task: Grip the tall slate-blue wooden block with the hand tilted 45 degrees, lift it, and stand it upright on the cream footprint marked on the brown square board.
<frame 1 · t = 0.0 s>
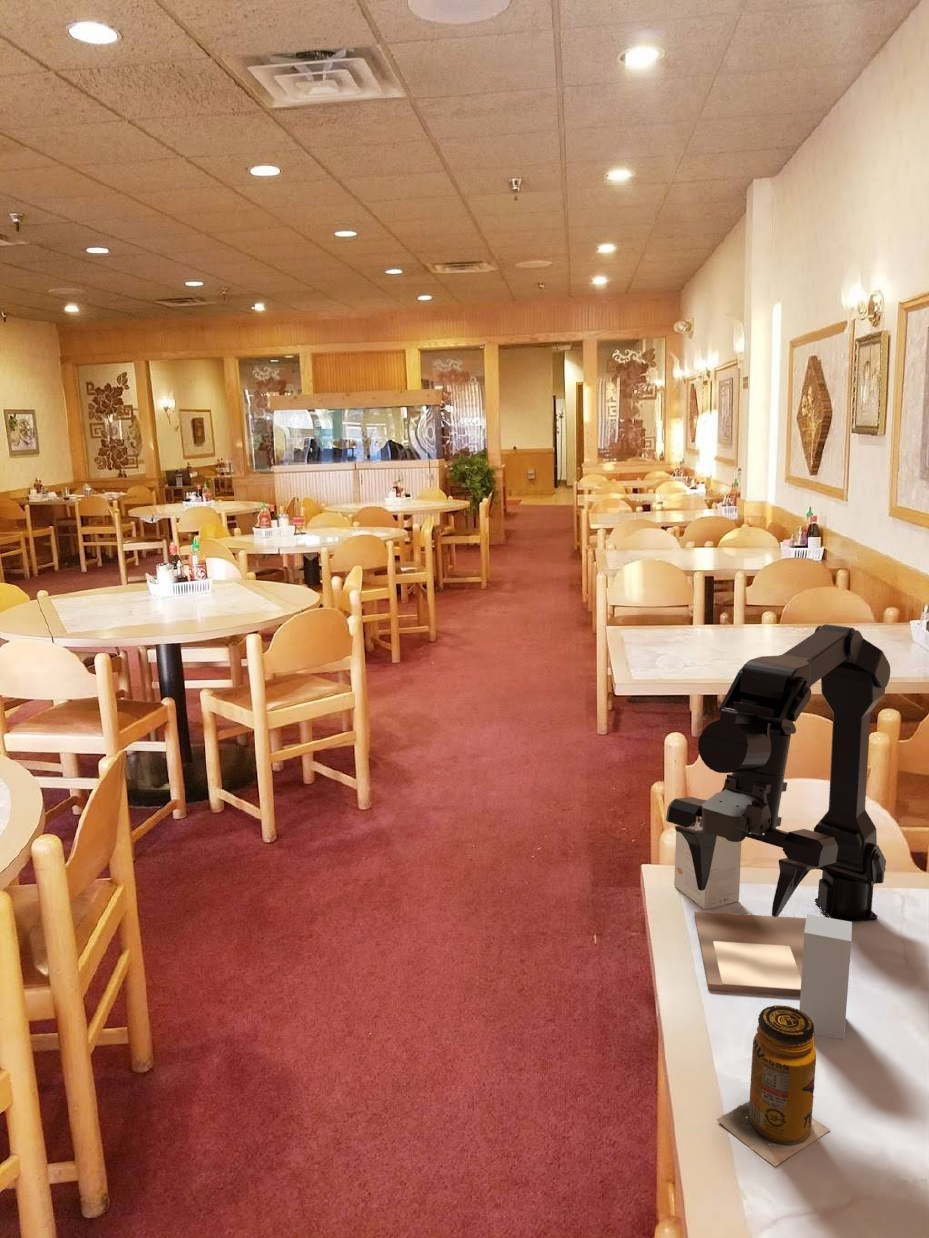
hand: (737, 902, 108), 15 cm above the table, tool pointing down, fingers open, 9 cm apart
condiment: (772, 1128, 95), on the table
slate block: (821, 1023, 111), on the table
small box: (705, 895, 142), on the table
brown square board: (763, 958, 124), on the table
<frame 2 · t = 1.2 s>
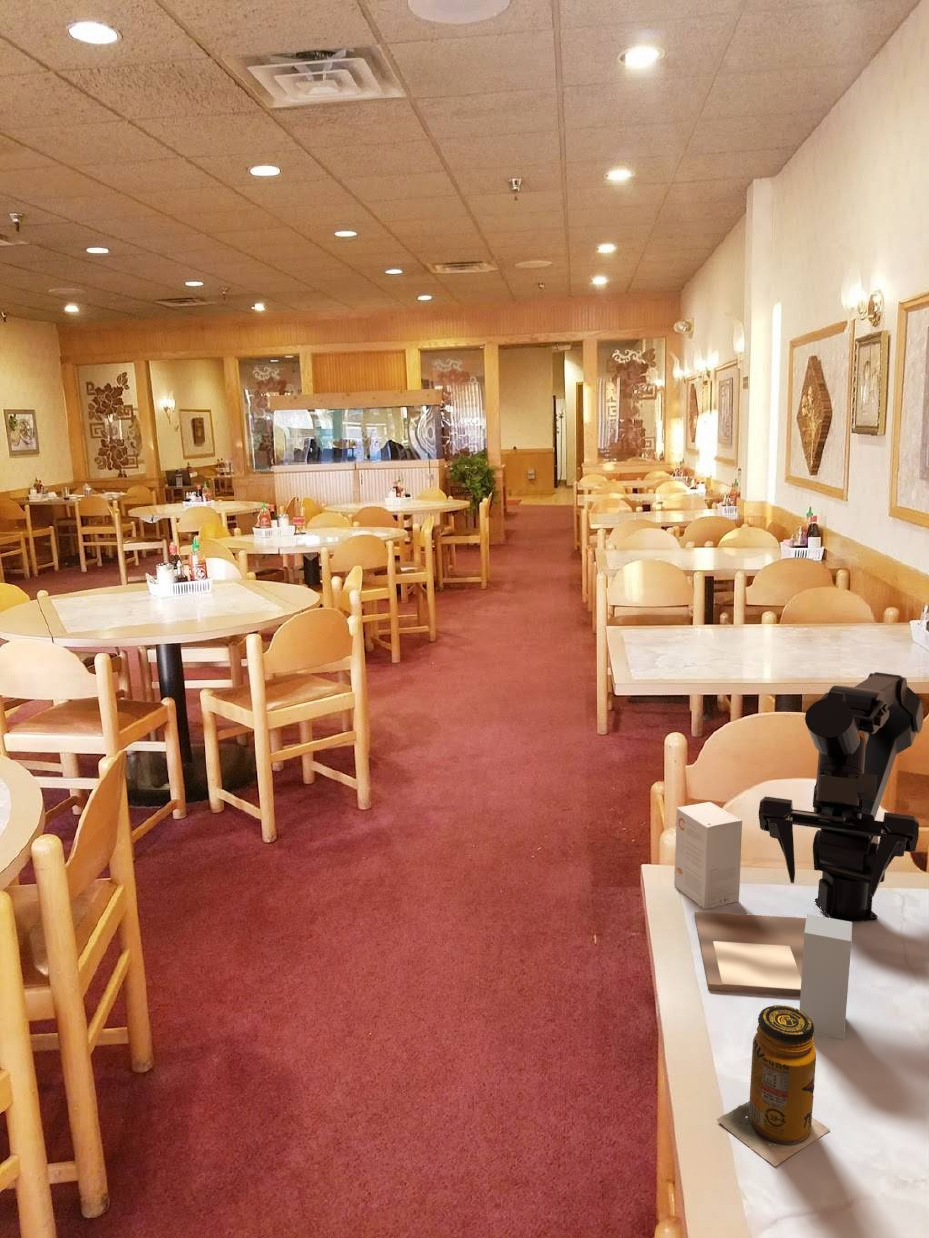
hand: (831, 888, 115), 13 cm above the table, tool tilted 45°, fingers open, 9 cm apart
nothing on the table moved.
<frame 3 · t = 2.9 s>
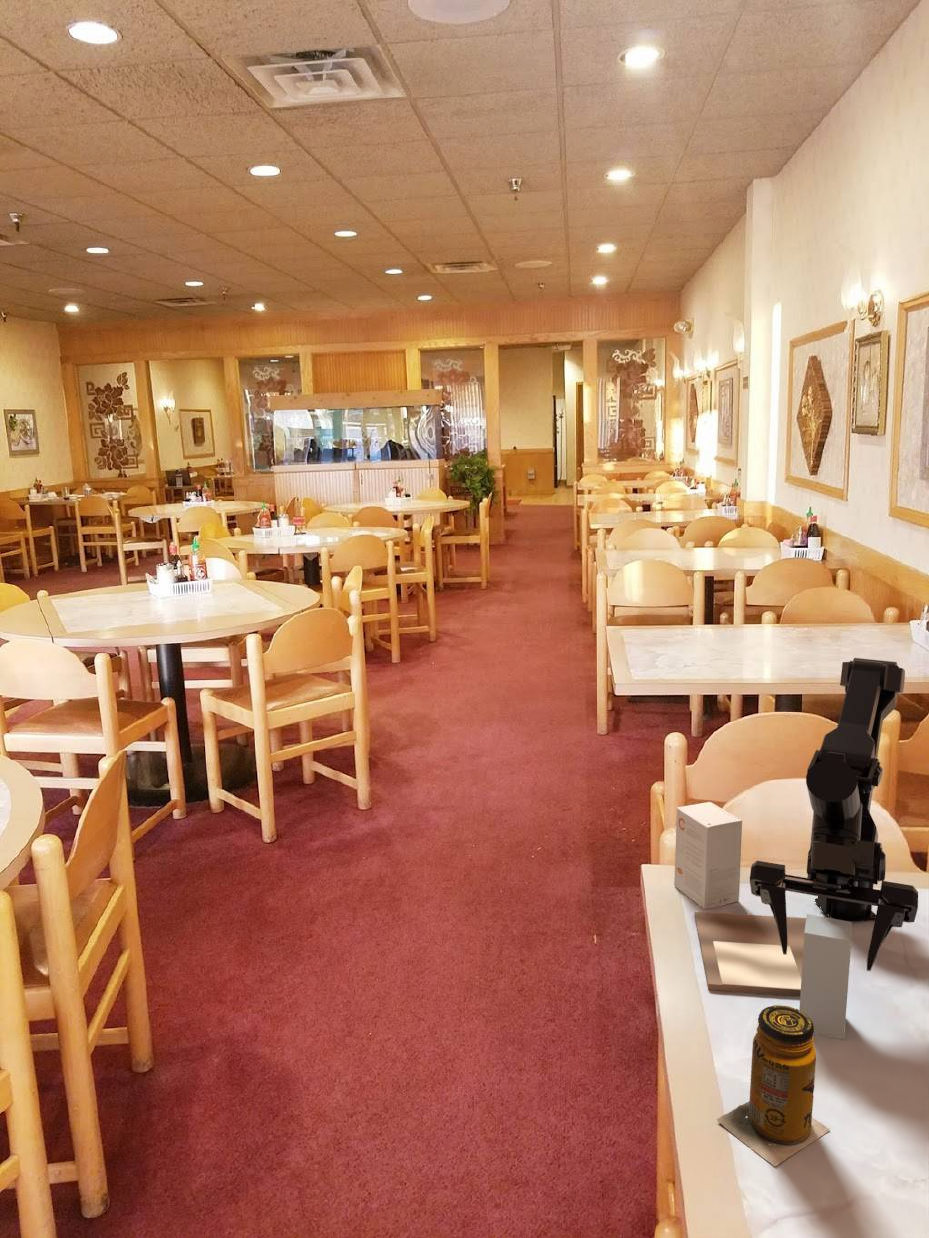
hand: (825, 961, 109), 8 cm above the table, tool tilted 45°, fingers open, 9 cm apart
nothing on the table moved.
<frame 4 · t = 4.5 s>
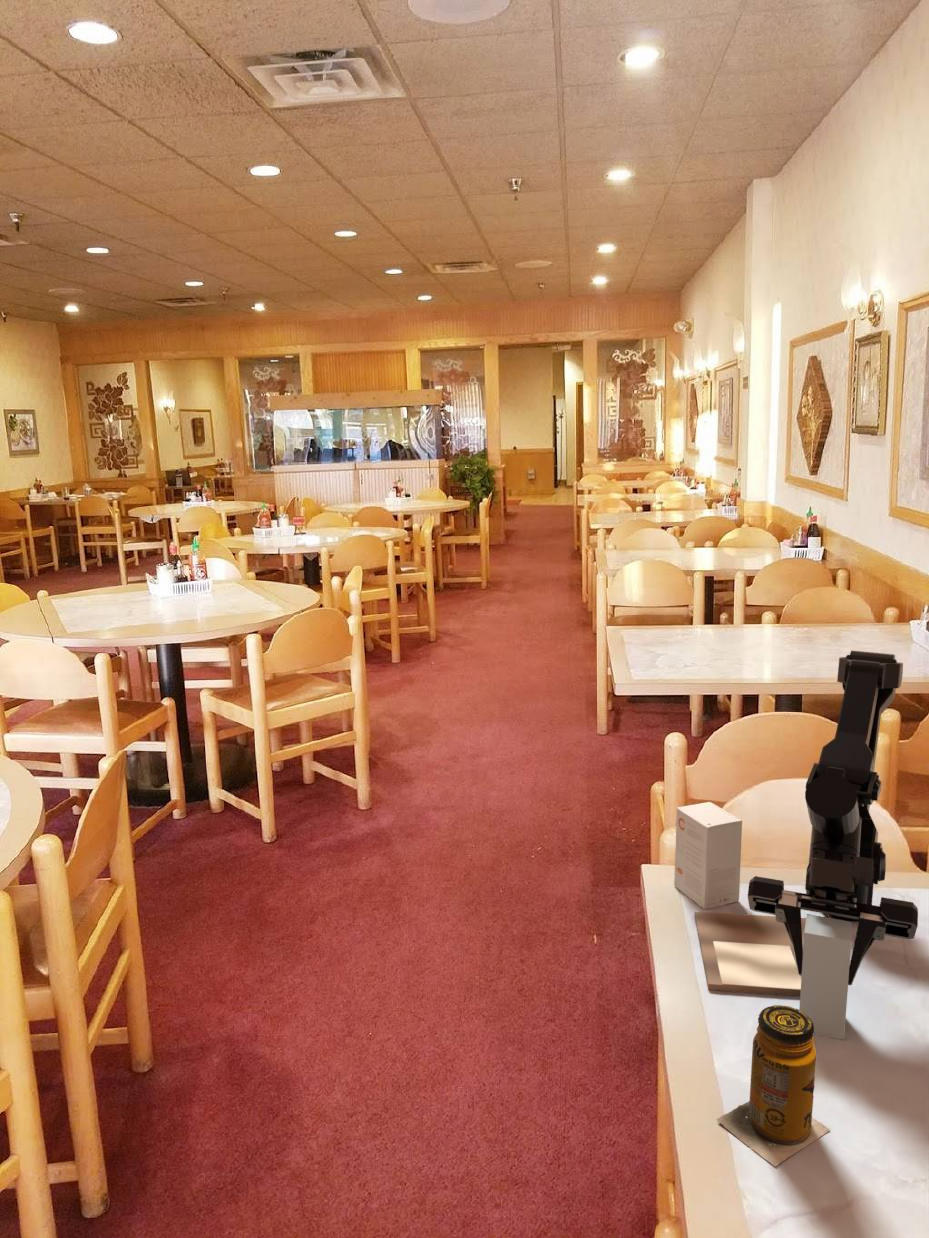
hand: (824, 979, 108), 7 cm above the table, tool tilted 45°, fingers closed on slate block, 5 cm apart
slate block: (821, 1023, 111), on the table, touching gripper
everything else where it was.
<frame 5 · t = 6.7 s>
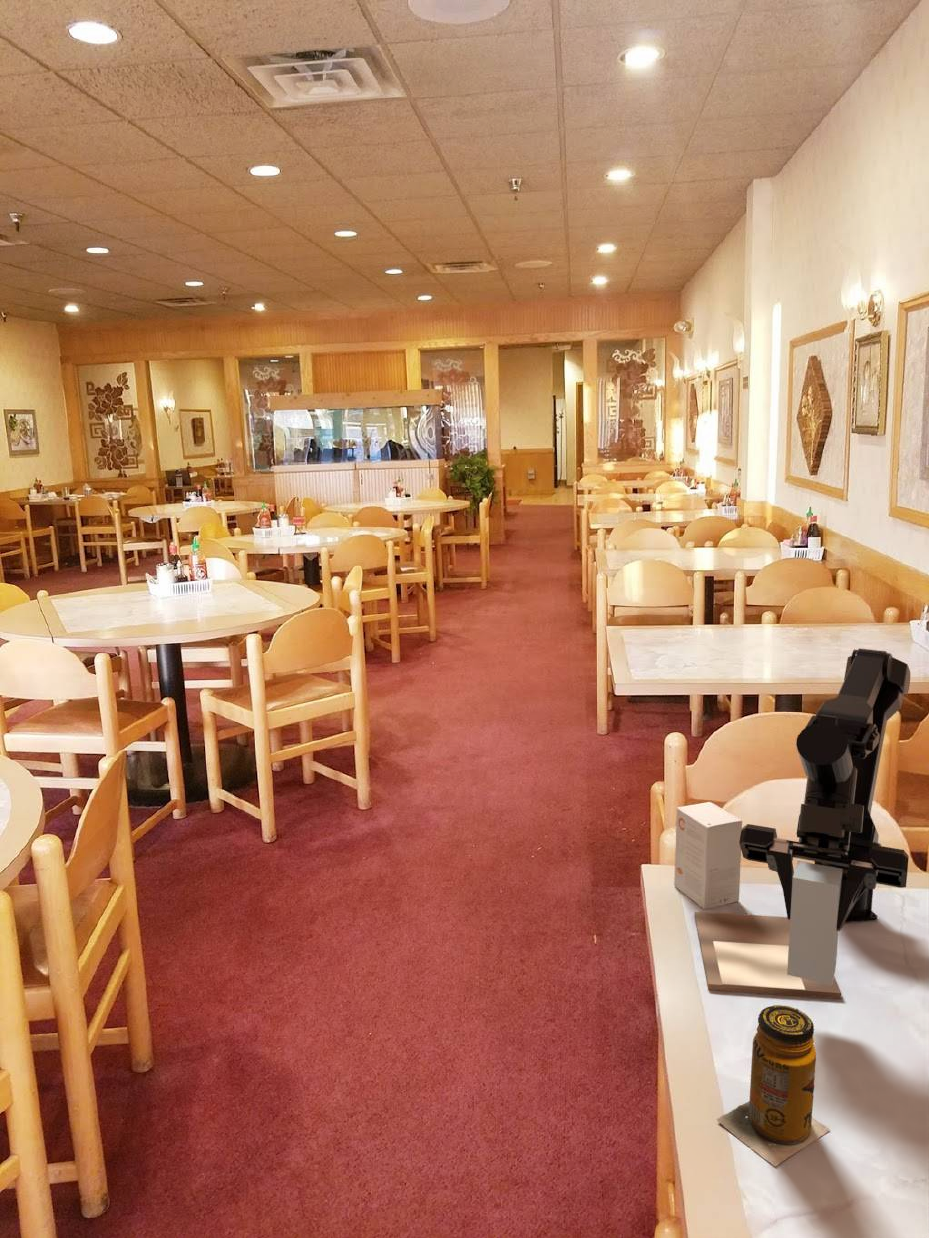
hand: (813, 924, 109), 13 cm above the table, tool tilted 45°, fingers closed on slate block, 5 cm apart
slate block: (811, 969, 111), point 6 cm above the table, touching gripper
everything else where it was.
when the fingers open (9 cm above the table, at t = 8.9 s): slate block drops 1 cm, resting on brown square board.
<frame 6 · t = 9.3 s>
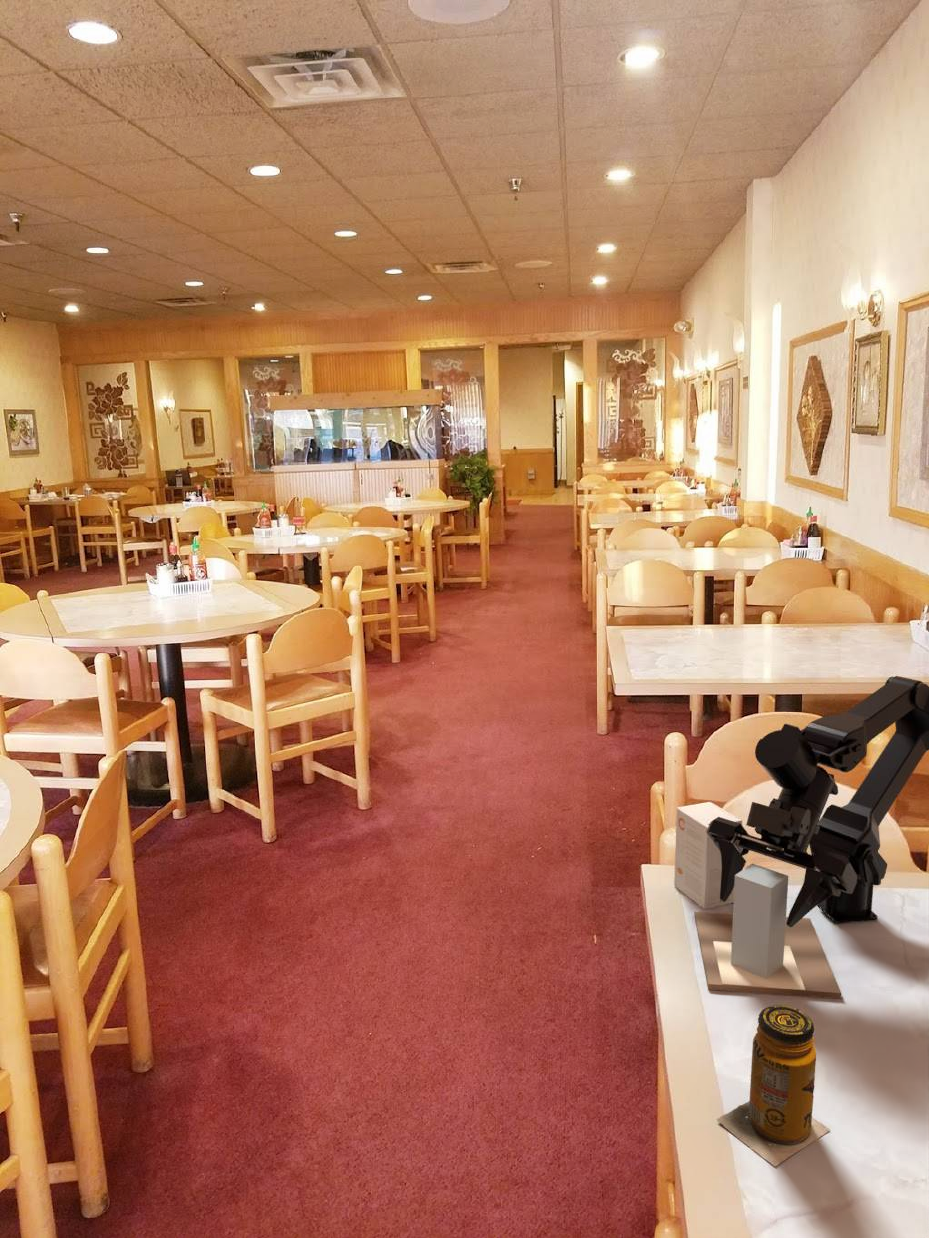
hand: (754, 912, 119), 9 cm above the table, tool tilted 45°, fingers open, 9 cm apart
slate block: (756, 964, 121), point 1 cm above the table, touching brown square board
everything else where it was.
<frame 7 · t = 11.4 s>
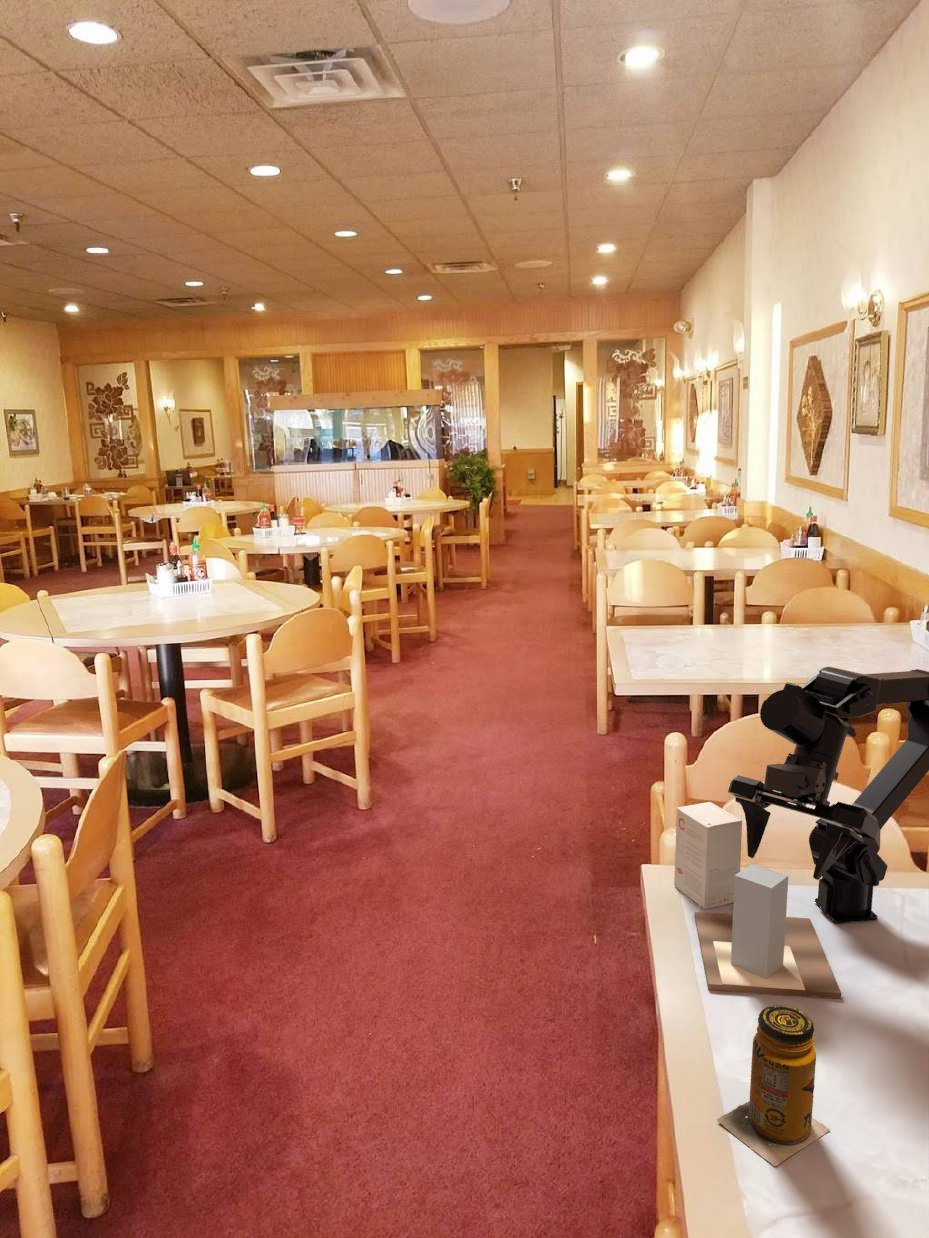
hand: (782, 867, 123), 12 cm above the table, tool tilted 30°, fingers open, 9 cm apart
nothing on the table moved.
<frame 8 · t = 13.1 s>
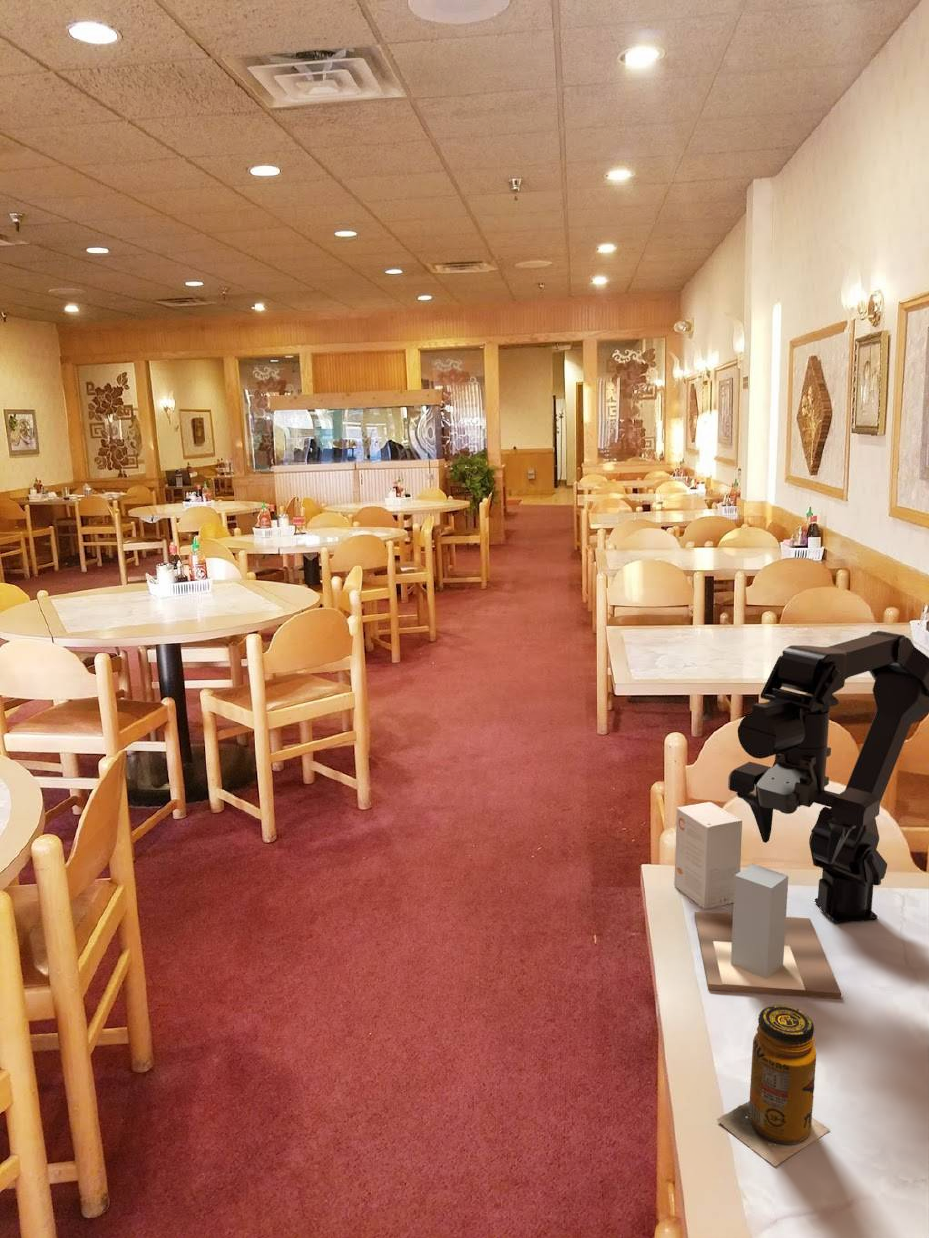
hand: (797, 851, 126), 13 cm above the table, tool pointing down, fingers open, 9 cm apart
nothing on the table moved.
at the end: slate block inside the target area (0.0 cm from its centre), point 0.9 cm above the table; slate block tilted 0°; the gripper is holding nothing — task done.
